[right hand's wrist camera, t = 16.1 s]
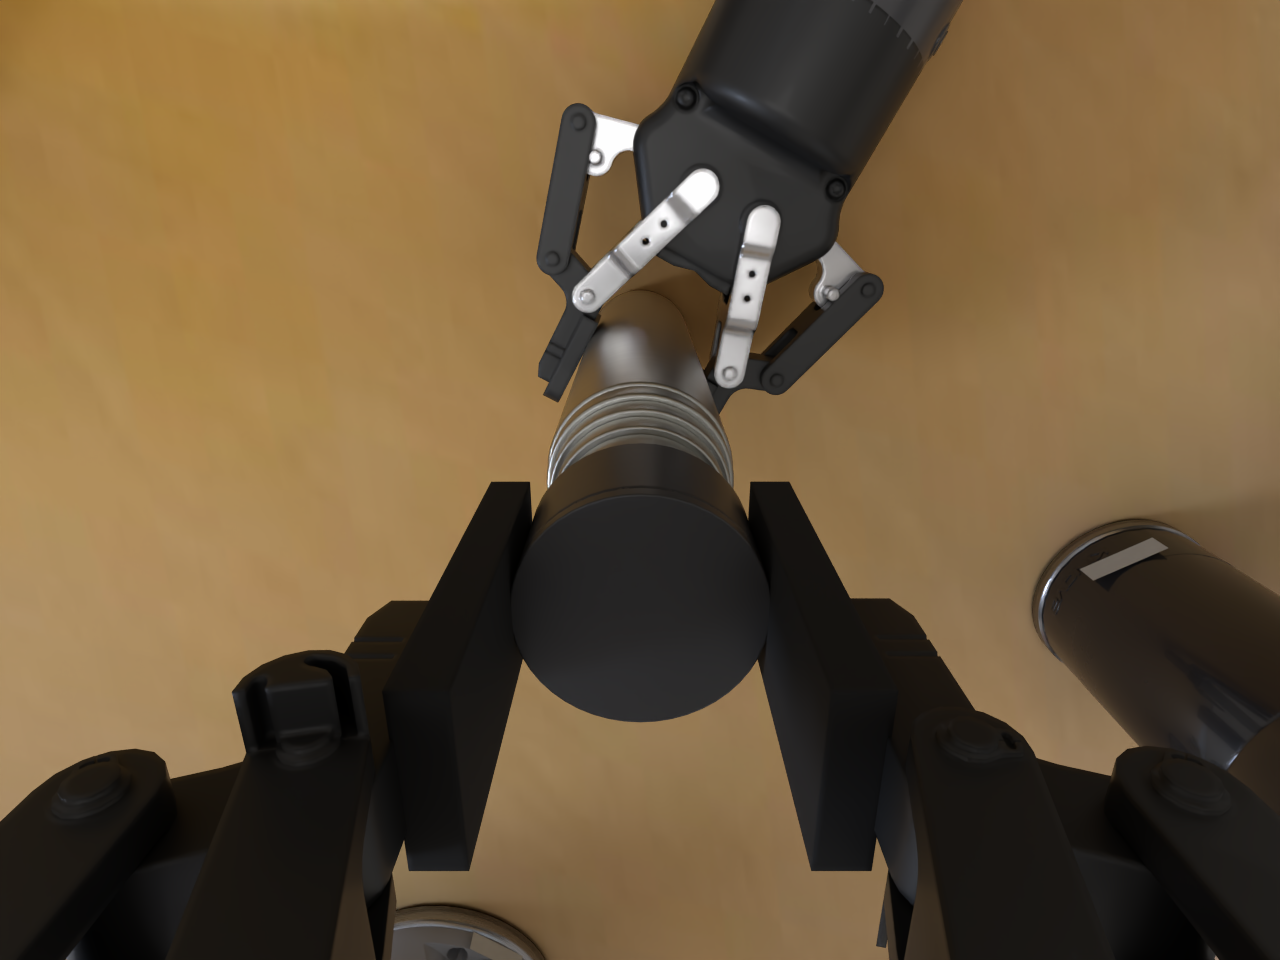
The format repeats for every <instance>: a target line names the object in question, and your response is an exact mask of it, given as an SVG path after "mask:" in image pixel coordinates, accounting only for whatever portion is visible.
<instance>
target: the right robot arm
mask: <svg viewBox="0 0 1280 960" xmlns="http://www.w3.org/2000/svg"><path fill="white" fill-rule="evenodd" d="M748 522H749V525H750V528H751V531H752V534H753V537H754V540H755V543H756V546H757V549H758V552H759V555H760V558H761V561H762V564H763V567H764V570H765V573H766V576H767V579H768V582H769V586H770V606H769V620H768V633H767V639H766V642H765V645H764V647H763V649H762V651H761V653H760V656H759V658H758V662H759V666H760V670H761V674H762V678H763V682H764V686H765V690H766V694H767V698H768V702H769V706H770V710H771V714H772V717H773V721H774V725H775V729H776V733H777V737H778V741H779V745H780V749H781V753H782V757H783V761H784V765H785V769H786V773H787V777H788V781H789V784H790V788H791V792H792V796H793V800H794V804H795V808H796V812H797V816H798V820H799V824H800V828H801V832H802V836H803V840H804V844H805V847H806V851H807V855H808V859H809V863H810V867H811V871H872V864H873V858H874V851H875V844H876V838H877V839H878V842H879V844H880V847H881V850H882V853H883V855H884V858H885V861H886V863H887V866H888V876H887V882H886V888H885V894H884V900H883V906H882V913H881V919H880V925H879V931H878V938H877V945H876V946H879V947H884V948H886V944H887V940H888V951H889V960H1215V959H1214V958H1215V956H1217V957H1218V959H1219V960H1280V816H1278V815H1277V814H1276V813H1275V812H1274V811H1273V810H1272V809H1271V808H1270V807H1269V806H1268V805H1267V804H1266V803H1265V802H1264V801H1263V800H1262V799H1260V798H1259V797H1258V796H1257V795H1256V794H1255V793H1254V792H1253V791H1252V790H1251V789H1250V788H1249V787H1247V786H1246V785H1245V784H1243V783H1242V782H1241V781H1239V780H1238V779H1237V778H1235V777H1234V776H1233V775H1231V774H1230V773H1229V772H1227V771H1226V770H1224V769H1222V768H1220V767H1218V766H1216V765H1214V764H1212V763H1210V762H1208V761H1206V760H1204V759H1202V758H1200V757H1197V756H1194V755H1192V754H1189V753H1184V752H1182V751H1178V750H1175V749H1171V748H1163V747H1154V746H1142V747H1136V748H1131V749H1127V750H1126V751H1124V752H1123V753H1122V754H1121V755H1120V756H1119V757H1117V758H1116V761H1115V765H1114V768H1113V772H1112V775H1111V776H1108V775H1104V774H1099V773H1094V772H1090V771H1085V770H1081V769H1076V768H1072V767H1067V766H1063V765H1058V764H1055V763H1051V762H1048V761H1044V760H1041V759H1038V758H1036V756H1035V754H1034V752H1033V750H1032V749H1031V747H1030V746H1029V744H1028V743H1027V741H1026V740H1025V738H1024V737H1023V736H1022V735H1021V734H1019V733H1018V732H1017V731H1016V730H1014V729H1013V728H1012V727H1010V726H1009V725H1008V724H1007V723H1005V722H1003V721H1001V720H999V719H997V718H994V717H992V716H990V715H988V714H986V713H984V712H980V711H975V709H974V708H973V706H972V705H971V703H970V701H969V700H968V698H967V697H966V695H965V694H964V692H963V691H962V689H961V688H960V686H959V685H958V683H957V682H956V680H955V679H954V677H953V675H952V674H951V672H950V671H949V669H948V668H947V666H946V665H945V663H944V662H943V660H942V659H941V657H940V656H937V651H936V649H935V648H934V646H933V645H932V643H931V642H930V640H927V638H926V634H925V633H924V631H923V630H922V628H921V626H920V625H919V623H918V622H917V620H916V619H915V617H914V616H913V615H912V614H910V613H909V612H908V611H906V610H905V609H903V608H902V607H901V606H899V605H898V604H896V603H895V602H894V601H892V600H891V599H850V597H849V595H848V593H847V591H846V590H845V588H844V586H843V584H842V582H841V580H840V578H839V576H838V574H837V572H836V570H835V568H834V567H833V565H832V563H831V561H830V559H829V557H828V555H827V553H826V551H825V549H824V547H823V546H822V544H821V542H820V540H819V538H818V536H817V534H816V532H815V530H814V528H813V526H812V524H811V523H810V521H809V519H808V517H807V515H806V513H805V511H804V509H803V507H802V505H801V503H800V502H799V500H798V498H797V496H796V494H795V492H794V490H793V488H792V486H791V484H790V482H750V500H749V517H748ZM531 525H532V509H531V492H530V482H491V483H490V485H489V487H488V489H487V491H486V493H485V495H484V497H483V499H482V501H481V502H480V504H479V506H478V508H477V510H476V512H475V514H474V516H473V518H472V520H471V522H470V523H469V525H468V527H467V529H466V531H465V533H464V535H463V537H462V539H461V541H460V543H459V545H458V546H457V548H456V550H455V552H454V554H453V556H452V558H451V560H450V562H449V564H448V566H447V567H446V569H445V571H444V573H443V575H442V577H441V579H440V581H439V583H438V585H437V587H436V589H435V590H434V592H433V594H432V596H431V598H430V600H429V601H390V602H389V603H388V604H386V605H385V606H383V607H382V608H381V609H379V610H378V611H376V612H375V613H374V614H372V615H371V616H369V617H368V618H367V619H366V621H365V622H364V624H363V626H362V627H361V629H360V630H359V632H358V633H357V635H356V636H355V638H354V642H351V644H350V646H349V647H348V649H347V650H346V652H345V653H344V654H343V653H339V652H336V651H332V650H308V651H303V652H299V653H294V654H289V655H285V656H282V657H280V658H277V659H275V660H273V661H270V662H268V663H265V664H263V665H261V666H260V667H258V668H257V669H255V670H254V671H252V672H251V673H249V674H248V675H246V676H245V677H243V679H242V680H241V681H240V682H239V684H238V685H237V686H236V687H235V689H234V690H233V691H232V695H233V699H234V703H235V707H236V711H237V716H238V720H239V724H240V728H241V732H242V737H243V741H244V745H245V749H246V755H245V758H244V760H243V762H240V763H236V764H233V765H229V766H226V767H223V768H218V769H214V770H209V771H204V772H200V773H195V774H191V775H186V776H182V777H177V778H173V779H170V777H169V773H168V770H167V766H166V763H165V761H164V760H163V759H162V758H160V757H159V756H158V755H157V754H156V753H155V752H151V751H145V750H139V749H128V750H119V751H110V752H107V753H104V754H100V755H98V756H93V757H90V758H88V759H85V760H82V761H80V762H78V763H76V764H74V765H72V766H70V767H68V768H66V769H64V770H62V771H60V772H58V773H56V774H55V775H53V776H52V777H51V778H49V779H48V780H47V781H45V782H44V783H43V784H41V785H40V786H39V787H37V788H36V789H35V790H33V791H32V792H31V793H30V794H29V795H28V796H27V797H26V798H25V799H24V800H23V801H22V802H21V803H20V804H18V805H17V806H16V807H15V808H14V809H13V810H12V811H11V812H10V813H9V814H8V815H7V816H6V817H5V818H4V819H3V820H2V821H1V822H0V960H66V959H67V960H545V959H544V957H543V956H542V954H541V953H540V952H539V950H538V949H537V948H536V947H535V945H534V944H533V943H532V942H531V941H530V940H529V939H528V938H526V937H525V936H524V935H523V934H522V933H520V932H519V931H518V930H516V929H514V928H513V927H511V926H510V925H508V924H506V923H504V922H502V921H500V920H498V919H496V918H493V917H491V916H488V915H486V914H483V913H480V912H476V911H472V910H468V909H463V908H457V907H448V906H421V907H412V908H407V909H402V910H398V911H396V895H395V888H394V882H393V876H392V871H393V868H394V866H395V863H396V860H397V857H398V855H399V852H400V849H401V847H402V844H403V841H405V848H406V855H407V861H408V868H409V871H469V869H470V865H471V861H472V857H473V853H474V849H475V845H476V841H477V837H478V834H479V830H480V826H481V822H482V818H483V814H484V810H485V806H486V802H487V798H488V794H489V790H490V786H491V782H492V778H493V774H494V770H495V766H496V763H497V759H498V755H499V751H500V747H501V743H502V739H503V735H504V731H505V727H506V723H507V719H508V715H509V711H510V707H511V703H512V699H513V696H514V692H515V688H516V684H517V680H518V676H519V672H520V668H521V664H522V660H523V658H522V656H521V653H520V651H519V649H518V647H517V645H516V642H515V639H514V636H513V627H512V614H511V599H510V593H511V587H512V583H513V579H514V576H515V573H516V570H517V567H518V564H519V561H520V558H521V555H522V552H523V549H524V546H525V543H526V540H527V537H528V534H529V531H530V528H531Z"/></svg>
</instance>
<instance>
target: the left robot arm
mask: <svg viewBox="0 0 1280 960" xmlns="http://www.w3.org/2000/svg"><path fill="white" fill-rule="evenodd" d="M962 1H963V0H716V1H715V3H714V5H713V7H712V9H711V11H710V13H709V15H708V17H707V19H706V21H705V23H704V25H703V27H702V29H701V31H700V33H699V35H698V37H697V39H696V41H695V44H694V46H693V48H692V50H691V52H690V54H689V56H688V58H687V60H686V62H685V64H684V66H683V68H682V70H681V72H680V74H679V76H678V78H677V80H676V82H675V84H674V86H673V88H672V90H671V92H670V94H669V96H668V98H667V99H666V100H665V102H664V103H663V104H662V105H661V106H660V107H659V108H658V109H657V110H655V111H654V112H653V113H651V114H650V115H648V116H647V117H646V118H645V119H643V121H642V122H641V123H640V124H639V125H638V124H634V123H631V122H627V121H623V120H619V119H616V118H612V117H608V116H604V115H601V114H597V113H594V112H593V111H592V110H591V109H590V108H589V107H587V106H586V105H584V104H581V103H576V104H572V105H570V106H569V107H567V108H566V109H565V111H564V113H563V115H562V119H561V125H560V130H559V136H558V141H557V147H556V152H555V158H554V163H553V169H552V174H551V180H550V185H549V191H548V196H547V202H546V207H545V213H544V218H543V224H542V229H541V235H540V240H539V246H538V251H537V264H538V266H539V268H540V269H541V270H542V271H543V272H544V273H546V274H548V275H550V276H551V277H552V278H553V280H554V281H555V282H556V283H557V284H558V285H559V286H560V287H561V288H562V290H563V291H564V293H565V296H566V301H567V303H566V309H565V311H564V314H563V316H562V318H561V320H560V322H559V324H558V326H557V328H556V330H555V332H554V334H553V336H552V338H551V340H550V342H549V344H548V346H547V348H546V350H545V352H544V354H543V356H542V358H541V360H540V362H539V370H538V377H540V378H542V379H544V380H546V381H548V382H549V384H548V386H547V388H546V390H545V392H544V394H543V395H544V396H546V397H548V398H550V399H552V400H554V401H556V402H559V400H560V398H561V396H562V394H563V392H564V390H565V389H566V387H567V385H568V383H569V381H570V379H571V377H572V375H573V373H574V371H575V369H576V367H577V365H578V363H579V361H580V359H581V357H582V355H583V353H584V351H585V349H586V347H587V345H588V343H589V341H590V340H591V338H592V336H593V334H594V332H595V330H596V328H597V326H598V324H599V321H600V318H601V315H600V314H598V313H599V311H600V309H601V307H602V305H603V304H604V303H605V302H606V301H607V300H608V299H609V298H610V297H611V296H612V295H613V294H614V293H615V292H616V291H617V290H618V289H619V288H621V287H622V286H623V285H624V284H625V283H626V282H627V281H628V280H629V279H630V278H631V277H633V276H634V275H635V274H636V273H637V272H638V271H640V270H641V269H642V268H643V267H644V266H645V265H646V264H647V263H648V262H649V261H650V260H651V259H652V258H653V257H654V256H655V255H656V256H658V257H659V258H661V259H663V260H665V261H666V262H668V263H670V264H672V265H674V266H678V267H682V268H686V269H690V270H694V271H695V272H696V273H697V274H698V275H700V276H701V277H702V278H703V279H704V280H705V281H706V282H707V283H708V284H709V285H710V286H711V287H713V288H715V289H716V290H718V291H720V292H721V293H720V298H719V304H718V309H717V321H716V327H715V332H714V337H713V342H712V347H711V352H710V358H709V363H708V365H707V366H706V368H705V370H703V369H702V370H703V373H704V375H705V378H706V381H707V384H708V386H709V389H710V392H711V395H712V397H713V400H714V403H715V406H716V408H717V411H718V414H720V412H721V410H722V409H723V407H724V405H725V404H726V402H727V400H728V399H729V397H730V396H731V395H732V394H733V393H734V392H736V391H737V390H740V389H745V388H748V389H756V390H763V391H766V392H767V393H769V394H772V395H779V394H782V393H784V392H785V391H787V390H788V389H789V388H790V387H791V386H792V385H793V384H794V383H795V382H796V381H797V380H798V379H799V378H800V377H801V376H802V375H803V374H804V373H805V372H806V371H807V370H808V369H809V368H810V367H811V366H812V365H813V364H814V363H815V362H816V361H817V360H818V359H819V358H820V357H821V356H823V355H824V354H825V353H826V352H827V351H828V350H829V349H830V348H831V347H832V346H833V345H834V344H835V343H836V342H837V341H838V340H839V339H840V338H841V337H842V336H843V335H844V334H845V333H846V332H847V331H848V330H849V329H850V328H851V327H852V326H853V325H854V324H855V323H856V322H857V321H858V320H859V319H860V318H861V317H862V316H863V315H864V314H865V313H866V312H867V311H869V310H870V309H871V308H872V307H873V306H874V305H875V304H876V303H877V302H878V301H879V300H880V298H881V297H882V294H883V290H884V286H883V282H882V280H881V279H880V278H879V277H878V276H876V275H874V274H871V273H868V272H865V271H863V270H862V269H861V268H860V267H859V266H858V265H857V264H856V263H855V261H854V260H853V259H852V258H851V257H850V256H849V255H848V254H847V253H846V252H845V251H844V250H843V249H842V248H841V247H840V245H839V244H838V243H837V242H836V239H837V236H838V230H839V217H840V212H841V209H842V206H843V203H844V201H845V199H846V197H847V195H848V194H849V192H850V190H851V189H852V187H853V185H854V184H855V182H856V180H857V179H858V177H859V175H860V174H861V172H862V170H863V169H864V167H865V165H866V163H867V162H868V160H869V158H870V157H871V155H872V153H873V152H874V150H875V148H876V147H877V145H878V143H879V142H880V140H881V138H882V137H883V135H884V133H885V131H886V130H887V128H888V126H889V125H890V123H891V121H892V120H893V118H894V116H895V115H896V113H897V111H898V110H899V108H900V106H901V105H902V103H903V101H904V99H905V98H906V96H907V94H908V93H909V91H910V89H911V88H912V86H913V84H914V83H915V81H916V79H917V78H918V76H919V74H920V72H921V71H922V69H923V67H924V66H925V64H926V62H927V61H928V60H929V59H930V58H931V57H932V56H934V54H935V53H936V52H937V50H938V48H939V47H940V45H941V43H942V42H943V40H944V38H945V36H946V34H947V32H948V31H947V30H948V27H949V25H950V22H951V20H952V18H953V17H954V15H955V13H956V12H957V10H958V8H959V6H960V5H961V3H962ZM624 152H633V155H634V163H635V171H636V179H637V187H638V194H639V202H640V210H641V218H642V219H641V220H640V221H639V222H638V223H637V224H636V225H635V226H634V227H633V228H632V229H631V230H630V231H629V232H628V233H627V234H626V235H625V236H624V237H623V238H622V239H621V240H620V241H619V242H618V243H617V244H616V245H615V246H614V247H613V248H612V249H611V250H610V251H609V252H608V253H607V254H606V255H605V256H604V257H603V258H602V259H601V260H600V261H599V262H598V263H597V264H596V265H594V266H593V267H592V268H590V267H589V266H588V265H587V264H586V263H585V261H584V260H583V259H582V258H581V257H580V256H579V255H578V254H577V252H576V251H575V249H576V244H577V239H578V234H579V229H580V224H581V219H582V214H583V209H584V204H585V199H586V194H587V189H588V184H589V178H590V175H592V176H596V177H599V176H603V175H605V174H607V173H608V172H609V171H610V169H611V167H612V165H613V162H614V160H615V159H616V157H617V156H618V155H620V154H621V153H624ZM644 238H646V240H643V239H644ZM814 261H816V263H817V274H816V277H815V278H814V280H813V281H812V283H811V284H810V287H809V295H810V298H811V300H812V301H813V302H812V303H811V304H810V305H809V306H808V307H807V308H806V309H805V310H804V311H803V312H802V313H801V314H800V315H799V316H798V317H797V318H796V319H795V320H794V321H793V322H792V323H791V324H790V325H789V326H788V327H787V328H786V329H785V330H784V331H783V332H782V333H781V334H780V335H779V336H778V337H777V338H776V339H775V340H774V341H773V342H772V343H771V344H770V345H769V346H768V347H767V348H766V349H765V350H764V351H763V352H762V353H761V354H756V353H749V352H750V347H751V342H752V338H753V334H754V332H755V331H756V328H757V325H758V321H759V316H760V312H761V307H762V302H763V298H764V293H765V288H766V284H768V283H770V282H773V281H775V280H777V279H779V278H781V277H783V276H785V275H787V274H789V273H791V272H793V271H795V270H797V269H799V268H801V267H803V266H806V265H808V264H810V263H812V262H814ZM1033 620H1034V625H1035V628H1036V631H1037V633H1038V635H1039V637H1040V639H1041V640H1042V642H1043V643H1044V644H1045V646H1046V647H1047V648H1048V649H1049V650H1050V651H1051V652H1052V653H1053V655H1054V656H1055V657H1057V658H1058V659H1059V660H1060V661H1061V662H1063V663H1064V664H1065V665H1066V666H1067V667H1068V668H1069V669H1070V671H1071V672H1072V673H1073V674H1074V675H1075V676H1076V677H1077V678H1078V679H1079V680H1080V682H1081V683H1082V684H1083V685H1084V686H1085V688H1086V689H1087V690H1088V691H1089V692H1090V693H1091V694H1092V695H1093V696H1094V697H1095V698H1096V700H1097V701H1098V702H1099V703H1100V704H1101V705H1102V706H1103V707H1104V708H1105V709H1106V710H1107V712H1108V713H1109V714H1110V715H1111V716H1112V717H1113V718H1114V719H1115V720H1116V721H1117V722H1118V724H1119V725H1120V726H1121V727H1122V728H1123V729H1124V730H1125V731H1126V732H1127V733H1128V735H1129V736H1130V737H1131V738H1132V739H1133V740H1134V741H1135V742H1136V743H1137V744H1138V745H1139V747H1142V746H1154V747H1163V748H1171V749H1175V750H1178V751H1182V752H1184V753H1189V754H1192V755H1194V756H1197V757H1200V758H1202V759H1204V760H1206V761H1208V762H1210V763H1212V764H1214V765H1216V766H1218V767H1220V768H1222V769H1224V770H1226V771H1227V772H1229V773H1230V774H1231V775H1233V776H1234V777H1235V778H1237V779H1238V780H1239V781H1241V782H1242V783H1243V784H1245V785H1246V786H1247V787H1249V788H1250V789H1251V790H1252V791H1253V792H1254V793H1255V794H1256V795H1257V796H1258V797H1259V798H1260V799H1262V800H1263V801H1264V802H1265V803H1266V804H1267V805H1268V806H1269V807H1270V808H1271V809H1272V810H1273V811H1274V812H1275V813H1276V814H1277V815H1278V816H1280V596H1279V595H1278V594H1276V593H1274V592H1273V591H1271V590H1270V589H1268V588H1266V587H1265V586H1263V585H1261V584H1260V583H1258V582H1257V581H1255V580H1253V579H1252V578H1250V577H1249V576H1247V575H1245V574H1244V573H1242V572H1241V571H1239V570H1237V569H1236V568H1234V567H1233V566H1231V565H1230V564H1228V563H1227V562H1225V561H1224V560H1222V559H1220V558H1219V557H1217V556H1215V555H1214V554H1212V553H1211V552H1209V551H1207V550H1206V549H1204V548H1202V547H1201V546H1200V545H1199V544H1198V543H1197V542H1196V541H1194V540H1193V539H1192V538H1190V537H1189V536H1187V535H1185V534H1184V533H1182V532H1181V531H1179V530H1177V529H1175V528H1173V527H1171V526H1169V525H1166V524H1163V523H1160V522H1156V521H1149V520H1128V521H1120V522H1116V523H1111V524H1108V525H1105V526H1102V527H1099V528H1097V529H1094V530H1092V531H1090V532H1088V533H1086V534H1084V535H1083V536H1081V537H1079V538H1078V539H1076V540H1075V541H1073V542H1072V543H1070V544H1069V545H1068V546H1067V547H1066V548H1064V549H1063V550H1062V551H1061V552H1060V553H1059V554H1058V555H1057V556H1056V557H1055V558H1054V559H1053V561H1052V562H1051V563H1050V564H1049V566H1048V567H1047V568H1046V570H1045V572H1044V573H1043V575H1042V577H1041V579H1040V581H1039V583H1038V586H1037V588H1036V591H1035V595H1034V600H1033Z"/></svg>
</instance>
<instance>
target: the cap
mask: <svg viewBox="0 0 1280 960" xmlns="http://www.w3.org/2000/svg"><path fill="white" fill-rule="evenodd" d="M510 599H511V614H512V627H513V636H514V639H515V642H516V645H517V647H518V649H519V651H520V653H521V656H522V658H523V659H524V661H525V662H526V664H527V665H528V667H529V669H530V670H531V671H532V672H533V674H534V675H535V676H536V677H537V678H538V679H539V681H540V682H541V683H542V684H543V685H545V686H546V687H547V688H548V689H549V690H550V691H551V692H552V693H554V694H555V695H557V696H558V697H559V698H561V699H562V700H564V701H565V702H567V703H569V704H571V705H573V706H575V707H576V708H578V709H581V710H583V711H586V712H588V713H591V714H593V715H597V716H600V717H604V718H608V719H613V720H619V721H627V722H654V721H662V720H668V719H673V718H677V717H681V716H684V715H688V714H690V713H693V712H695V711H698V710H700V709H703V708H705V707H706V706H708V705H710V704H712V703H714V702H716V701H717V700H719V699H720V698H722V697H723V696H724V695H726V694H727V693H729V692H730V691H731V690H732V689H733V688H734V687H735V686H736V685H738V684H739V683H740V682H741V681H742V679H743V678H744V677H745V676H746V675H747V674H748V673H749V671H750V670H751V668H752V667H753V665H754V664H755V662H756V661H757V659H758V658H759V656H760V653H761V651H762V649H763V647H764V645H765V642H766V639H767V633H768V620H769V606H770V586H769V582H768V579H767V576H766V573H765V570H764V567H763V564H762V561H761V558H760V555H759V552H758V549H757V546H756V543H755V540H754V537H753V534H752V531H751V528H750V525H749V522H748V519H747V516H746V513H745V510H744V508H743V506H742V504H741V501H740V499H739V497H738V496H737V494H736V493H735V491H734V490H733V488H732V487H731V485H730V484H729V483H728V482H727V481H726V480H725V479H724V477H723V476H722V475H721V474H719V473H718V472H717V471H716V470H715V469H714V468H712V467H711V466H710V465H708V464H707V463H705V462H704V461H702V460H701V459H699V458H697V457H695V456H693V455H691V454H689V453H687V452H684V451H681V450H678V449H675V448H672V447H668V446H663V445H658V444H645V443H636V444H623V445H618V446H613V447H609V448H606V449H603V450H599V451H596V452H594V453H592V454H590V455H588V456H586V457H584V458H582V459H580V460H579V461H577V462H576V463H574V464H572V465H571V466H570V467H568V468H567V469H566V470H565V471H564V472H563V473H561V474H560V475H559V476H558V477H557V479H556V480H555V481H554V482H553V483H552V484H551V485H550V487H549V488H548V490H547V491H546V493H545V494H544V495H543V497H542V499H541V501H540V503H539V505H538V507H537V510H536V513H535V516H534V519H533V522H532V525H531V528H530V531H529V534H528V537H527V540H526V543H525V546H524V549H523V552H522V555H521V558H520V561H519V564H518V567H517V570H516V573H515V576H514V579H513V583H512V587H511V593H510Z"/></svg>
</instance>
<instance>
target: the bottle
mask: <svg viewBox="0 0 1280 960" xmlns="http://www.w3.org/2000/svg"><path fill="white" fill-rule="evenodd" d="M599 314H600V315H601V318H600V321H599V324H598V326H597V328H596V330H595V332H594V334H593V336H592V338H591V340H590V341H589V343H588V345H587V347H586V349H585V352H584V354H583V357H582V360H581V363H580V365H579V368H578V371H577V374H576V377H575V379H574V382H573V385H572V388H571V390H570V393H569V396H568V399H567V402H566V404H565V407H564V410H563V413H562V415H561V418H560V421H559V424H558V427H557V429H556V432H555V435H554V438H553V441H552V444H551V447H550V451H549V457H548V470H547V489H548V488H549V487H550V485H551V484H552V483H553V482H554V481H555V480H556V479H557V477H558V476H559V475H560V474H561V473H563V472H564V471H565V470H566V469H567V468H568V467H570V466H571V465H572V464H574V463H576V462H577V461H579V460H580V459H582V458H584V457H586V456H588V455H590V454H592V453H594V452H596V451H599V450H603V449H606V448H609V447H613V446H618V445H623V444H636V443H645V444H658V445H663V446H668V447H672V448H675V449H678V450H681V451H684V452H687V453H689V454H691V455H693V456H695V457H697V458H699V459H701V460H702V461H704V462H705V463H707V464H708V465H710V466H711V467H712V468H714V469H715V470H716V471H717V472H718V473H719V474H721V475H722V476H723V477H724V479H725V480H726V481H727V482H728V483H729V484H730V485H731V487H732V488H733V486H734V473H733V460H732V453H731V448H730V445H729V442H728V438H727V436H726V433H725V430H724V427H723V425H722V422H721V419H720V416H719V414H718V411H717V408H716V406H715V403H714V400H713V397H712V395H711V392H710V389H709V386H708V384H707V381H706V378H705V375H704V373H703V370H702V367H701V364H700V362H699V359H698V356H697V353H696V351H695V348H694V345H693V342H692V340H691V337H690V334H689V331H688V329H687V326H686V323H685V321H684V318H683V316H682V314H681V313H680V311H679V310H678V308H677V307H676V306H675V305H674V304H673V303H672V302H671V301H670V300H668V299H667V298H665V297H664V296H662V295H660V294H657V293H655V292H651V291H645V290H635V291H629V292H626V293H623V294H620V295H618V296H616V297H615V298H613V299H612V300H611V301H609V302H608V303H607V304H606V305H605V306H604V307H603V309H602V310H601V311H600V313H599Z"/></svg>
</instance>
